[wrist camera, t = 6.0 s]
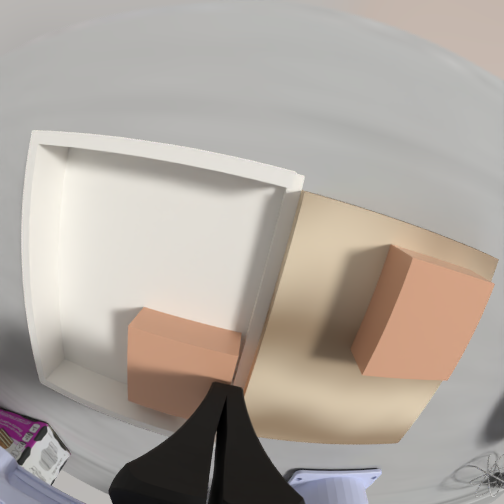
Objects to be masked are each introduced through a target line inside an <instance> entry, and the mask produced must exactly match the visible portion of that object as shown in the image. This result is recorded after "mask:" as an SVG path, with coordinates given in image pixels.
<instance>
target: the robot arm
mask: <svg viewBox="0 0 504 504" xmlns="http://www.w3.org/2000/svg"><path fill="white" fill-rule="evenodd" d="M216 431H217V433H216ZM215 435H216V447H215V461H214V473H213V479H212V485H211V490H210V496H209V501H208V504H368V499H367V495H366V491H365V490H366V489H367V488H368V487H369V486H370V485H371V484H372V483H373V482H374V481H375V480H376V479H377V478H378V477H379V476H380V475H381V474H382V471H381V469H372V470H354V471H312V470H299V471H296V472H295V473H294V474H293V476H292V477H291V478H290V480H289V481H288V482H287V481H286V480H285V479H284V478H283V477H282V475H281V474H280V473H279V471H278V470H277V469H276V467H275V466H274V465H273V463H272V462H271V460H270V459H269V457H268V456H267V454H266V452H265V451H264V449H263V447H262V445H261V443H260V441H259V439H258V437H257V435H256V433H255V430H254V428H253V425H252V423H251V420H250V417H249V414H248V411H247V407H246V403H245V399H244V393H243V389H242V387H238V386H233V385H228V384H224V383H219V382H212V384H211V387H210V389H209V391H208V393H207V395H206V396H205V398H204V399H203V401H202V402H201V404H200V405H199V406H198V408H197V409H196V411H195V412H194V413H193V414H192V415H191V416H190V418H189V419H188V420H187V421H186V422H185V423H184V424H183V425H182V426H181V427H180V428H179V429H178V430H177V431H176V432H175V433H174V434H172V435H171V436H170V437H169V438H168V439H166V440H165V441H164V442H163V443H161V444H160V445H158V446H157V447H155V448H154V449H152V450H151V451H149V452H148V453H146V454H144V455H143V456H141V457H139V458H137V459H135V460H133V461H131V462H129V463H127V464H126V465H125V466H124V467H123V468H122V469H121V470H120V471H119V472H118V474H117V475H116V476H115V478H114V480H113V482H112V484H111V486H110V488H109V495H110V498H111V500H112V503H113V504H206V499H207V490H208V482H209V473H210V466H211V459H212V452H213V446H214V439H215ZM0 504H86V503H83V502H81V501H79V500H77V499H75V498H73V497H71V496H69V495H68V494H66V493H63V492H62V491H60V490H58V489H56V488H55V487H53V486H51V485H50V484H48V483H46V482H44V481H43V480H41V479H40V478H38V477H36V476H35V475H33V474H32V473H30V472H29V471H27V470H26V469H24V468H23V467H21V466H20V465H18V463H17V461H16V459H15V458H14V457H13V456H12V455H11V454H10V453H9V452H8V451H6V450H5V449H4V448H2V447H1V446H0Z"/></svg>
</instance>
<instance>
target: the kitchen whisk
mask: <svg viewBox="0 0 504 504" xmlns="http://www.w3.org/2000/svg"><path fill="white" fill-rule="evenodd" d="M503 455H504V454H503ZM503 455H502V456H503ZM490 456H491V455H489V457H490ZM502 456H501V457H502ZM489 457H488V472H486V471H483V470H482V469H480V468H478V467H476V466H475V467H476V468H478V469H479V470H481V471H483V472H485V473H487V474H485V475H486V476H487V475H488V483H484V484H488V486H489V491H488V492H490V495H491V496H492V494H491V491H490V485H489V475H490V476H492V477H494V478H496V479H495V482H491V483H495V487H499V490H500V488H504V473H501V472H500V469H503V468H504V467H503V468H500V469H499V467H498V464H497V462H498V460H499V459H500V458H501V457H500V458H499V459H498V460H497V462H496V461H495V462H496V463H495V464H497V467H498V469H497V470H499V472H500V474H499V475H498V476H497V477H496V476H494V475H492V474H490V473H492V472H495V471H497V470H495V471H492V472H490V471H491V469H492V468H493V467H494V465H495V464H494V465H493V467H492V468H491V469H490V471H489ZM489 472H490V473H489ZM485 475H482V476H485ZM482 476H480V477H482ZM486 476H485V478H486ZM480 477H478V478H480ZM485 478H484V479H485ZM476 479H477V478H476ZM484 479H483V481H484ZM474 480H475V479H474ZM472 481H473V480H472ZM472 481H470V482H469V483H470V484H471V482H472ZM483 481H482V482H483ZM482 482H481V483H482ZM481 483H480V484H471V485H479V487H480V485H482V484H481ZM479 487H478V489H479ZM493 488H494V487H493ZM493 488H492V489H493ZM478 489H477V490H478ZM492 489H491V490H492ZM477 490H476V493H477ZM499 490H498V491H499ZM476 493H475V496H476V497H479V496H477V495H476ZM486 493H487V492H486ZM486 493H484V494H486ZM497 493H498V492H497ZM497 493H496V495H497ZM484 494H482V495H484ZM482 495H480V496H482ZM496 495H495V496H496ZM492 497H494V496H492Z"/></svg>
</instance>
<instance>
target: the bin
mask: <svg viewBox="0 0 504 504" xmlns="http://www.w3.org/2000/svg"><path fill="white" fill-rule="evenodd" d="M304 179H305V176H303V175H299V174H296V172H295V171H292V170H288V169H284V168H280V167H276V166H272V165H268V164H264V163H260V162H256V161H252V160H247V159H243V158H238V157H234V156H229V155H224V154H220V153H215V152H210V151H205V150H199V149H194V148H189V147H183V146H177V145H171V144H165V143H159V142H152V141H146V140H139V139H131V138H123V137H115V136H106V135H97V134H86V133H74V132H60V131H41V130H32V134H31V139H30V145H29V151H28V157H27V164H26V172H25V180H24V191H23V204H22V227H21V252H22V275H23V288H24V299H25V307H26V315H27V322H28V328H29V334H30V340H31V345H32V350H33V355H34V360H35V364H36V368H37V373H38V376H39V380H40V383H42V384H43V385H45V386H47V387H49V388H51V389H53V390H54V391H56V392H58V393H60V394H62V395H64V396H66V397H68V398H70V399H72V400H74V401H76V402H78V403H80V404H83V405H85V406H87V407H89V408H91V409H94V410H96V411H98V412H101V413H103V414H105V415H108V416H110V417H113V418H115V419H118V420H120V421H123V422H126V423H128V424H131V425H134V426H137V427H140V428H143V429H146V430H149V431H152V432H155V433H158V434H161V435H165V436H168V437H170V436H171V435H172V434H174V433H175V432H176V431H177V430H178V429H179V428H180V427H181V426H182V425H183V424H184V423H185V422H186V421H187V420H188V419H184V418H181V417H177V416H174V415H170V414H167V413H163V412H160V411H157V410H154V409H151V408H148V407H145V406H142V405H139V404H136V403H133V402H130V401H128V384H127V346H128V325H129V324H130V323H131V322H132V320H133V319H134V318H135V317H136V316H137V314H138V313H139V312H140V311H141V310H142V308H143V307H146V308H150V309H153V310H156V311H160V312H163V313H167V314H170V315H174V316H177V317H181V318H185V319H188V320H192V321H196V322H200V323H203V324H207V325H211V326H215V327H219V328H223V329H228V330H232V331H236V332H240V333H242V334H241V342H240V349H239V356H238V360H237V363H236V367H235V371H234V374H233V378H232V381H231V385H233V386H238V387H242V389H243V390H244V387H245V384H246V381H247V378H248V375H249V371H250V368H251V365H252V362H253V359H254V355H255V352H256V349H257V346H258V343H259V339H260V336H261V333H262V329H263V326H264V323H265V319H266V316H267V313H268V309H269V306H270V303H271V299H272V296H273V292H274V289H275V285H276V282H277V278H278V275H279V271H280V268H281V264H282V261H283V257H284V254H285V250H286V246H287V243H288V239H289V235H290V232H291V228H292V224H293V221H294V217H295V213H296V209H297V206H298V202H299V198H300V194H301V190H302V186H303V183H304ZM216 433H217V431H216ZM215 447H216V435H215V439H214V446H213V448H215Z"/></svg>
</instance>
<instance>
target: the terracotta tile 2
mask: <svg viewBox="0 0 504 504" xmlns="http://www.w3.org/2000/svg"><path fill="white" fill-rule="evenodd" d="M494 285H495V284H494V283H492V282H491V281H489V280H487V279H486V278H484V277H482V276H480V275H479V274H477V273H475V272H473V271H472V270H470V269H467V268H464V267H461V266H458V265H455V264H452V263H449V262H446V261H443V260H440V259H437V258H434V257H431V256H428V255H425V254H422V253H418V252H415V251H412V250H409V249H406V248H402V247H399V246H396V245H393V244H391V245H390V248H389V251H388V254H387V257H386V260H385V263H384V266H383V269H382V271H381V274H380V277H379V280H378V282H377V285H376V288H375V291H374V293H373V296H372V298H371V301H370V303H369V306H368V308H367V311H366V313H365V316H364V318H363V321H362V323H361V325H360V328H359V330H358V332H357V335H356V337H355V339H354V341H353V344H352V346H351V348H350V349H351V352H352V354H353V356H354V358H355V361H356V363H357V365H358V367H359V370H360V372H361V374H362V375H365V376H375V377H386V378H400V379H418V380H448V379H449V377H450V375H451V374H452V372H453V370H454V369H455V367H456V365H457V363H458V362H459V360H460V358H461V356H462V354H463V353H464V351H465V349H466V347H467V345H468V343H469V341H470V339H471V337H472V335H473V333H474V331H475V329H476V327H477V325H478V323H479V321H480V318H481V316H482V314H483V312H484V309H485V307H486V305H487V302H488V300H489V298H490V295H491V293H492V290H493V287H494Z"/></svg>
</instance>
